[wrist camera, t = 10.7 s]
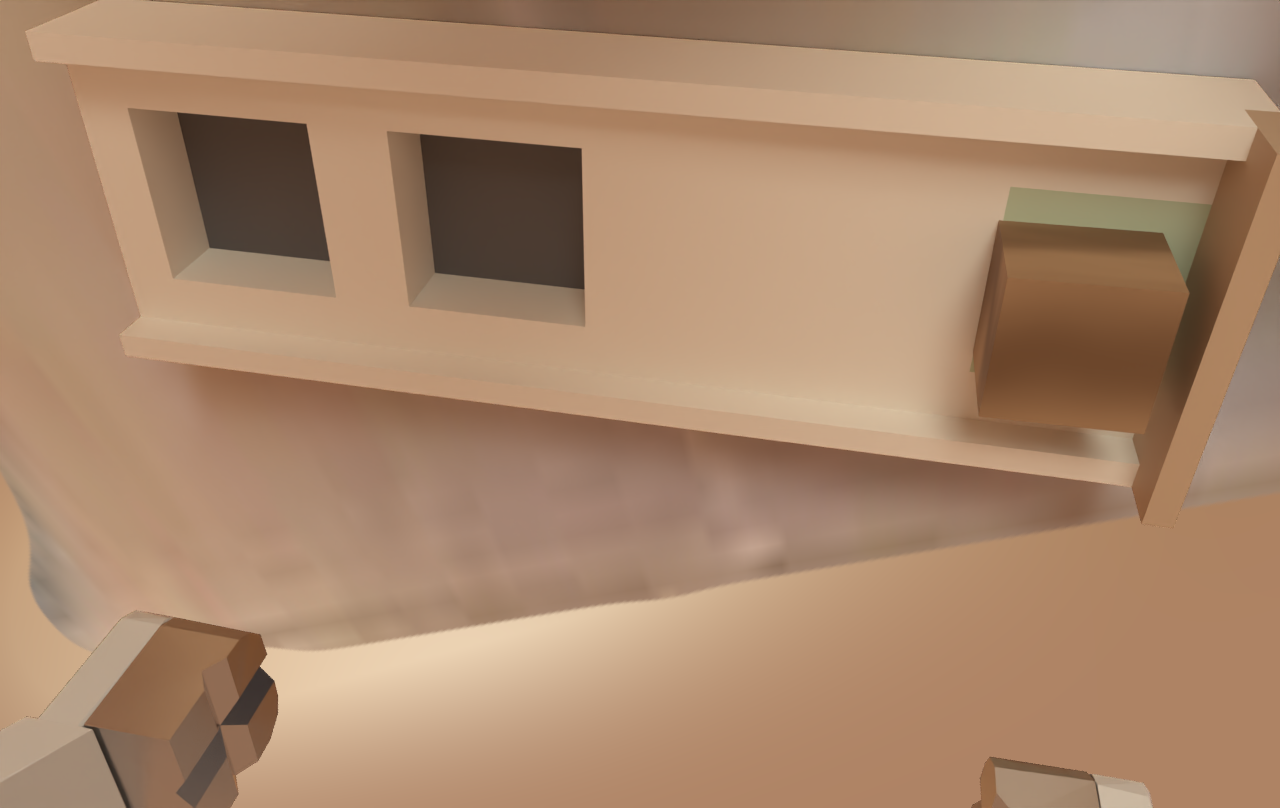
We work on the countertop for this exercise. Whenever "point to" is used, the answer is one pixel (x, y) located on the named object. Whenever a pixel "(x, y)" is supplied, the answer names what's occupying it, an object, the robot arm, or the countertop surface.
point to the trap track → (657, 221)
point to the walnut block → (1076, 325)
